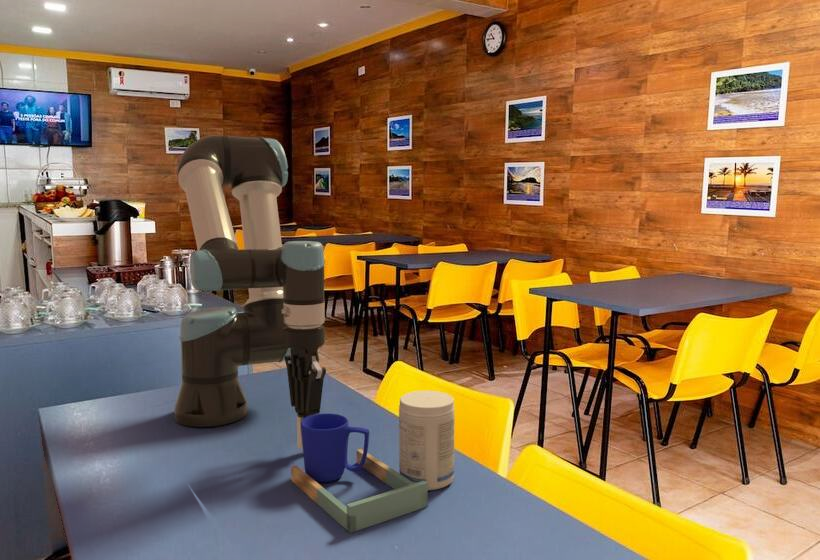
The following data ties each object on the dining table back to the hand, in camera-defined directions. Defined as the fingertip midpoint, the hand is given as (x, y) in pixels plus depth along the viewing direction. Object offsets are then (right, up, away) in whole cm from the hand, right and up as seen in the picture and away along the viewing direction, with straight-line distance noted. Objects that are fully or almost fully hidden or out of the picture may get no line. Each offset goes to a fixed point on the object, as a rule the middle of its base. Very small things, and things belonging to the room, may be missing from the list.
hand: (305, 446), depth 118 cm
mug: (+7, -3, -9) cm, 12 cm away
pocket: (+14, -4, -19) cm, 24 cm away
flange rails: (+8, -3, -11) cm, 14 cm away
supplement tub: (+23, -3, -10) cm, 25 cm away
